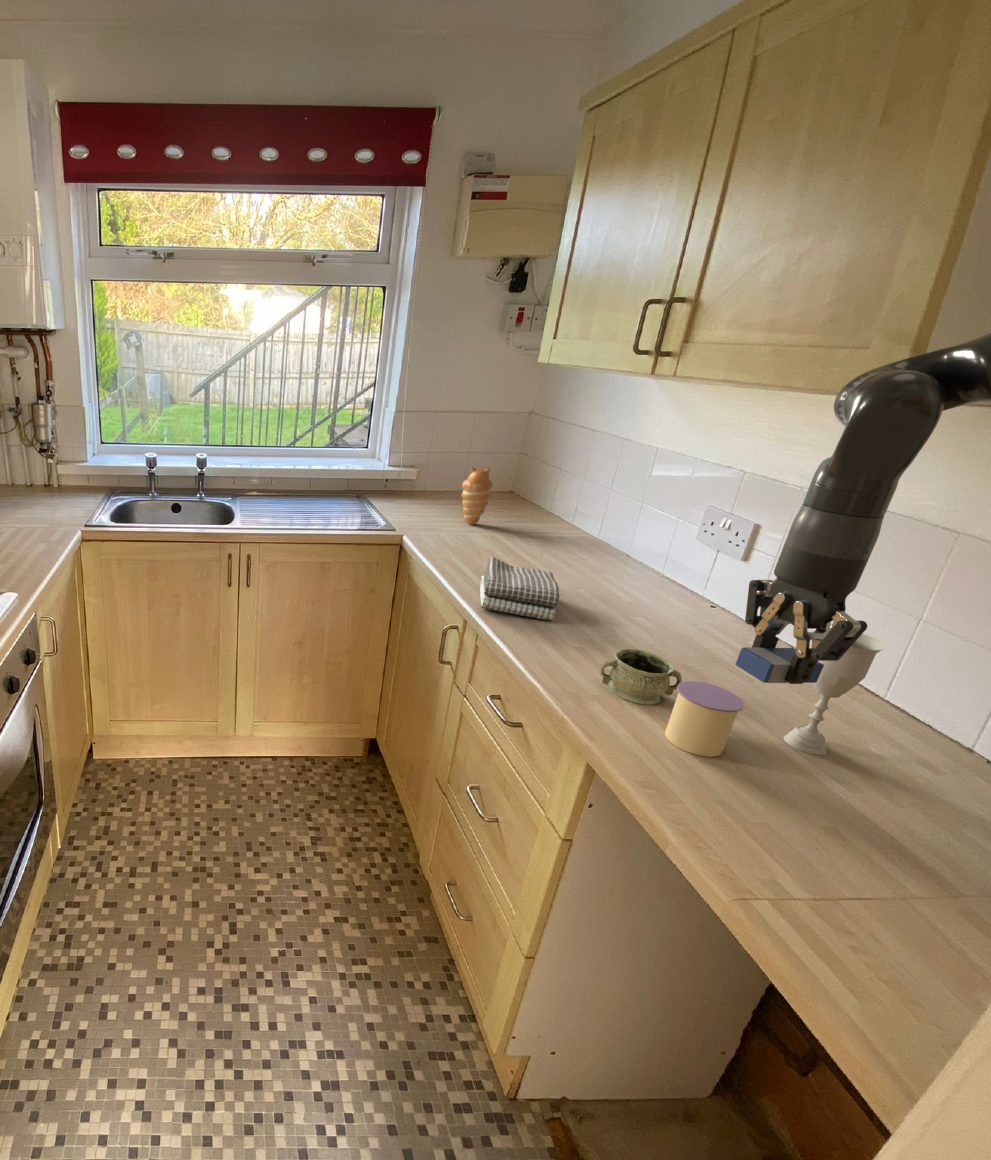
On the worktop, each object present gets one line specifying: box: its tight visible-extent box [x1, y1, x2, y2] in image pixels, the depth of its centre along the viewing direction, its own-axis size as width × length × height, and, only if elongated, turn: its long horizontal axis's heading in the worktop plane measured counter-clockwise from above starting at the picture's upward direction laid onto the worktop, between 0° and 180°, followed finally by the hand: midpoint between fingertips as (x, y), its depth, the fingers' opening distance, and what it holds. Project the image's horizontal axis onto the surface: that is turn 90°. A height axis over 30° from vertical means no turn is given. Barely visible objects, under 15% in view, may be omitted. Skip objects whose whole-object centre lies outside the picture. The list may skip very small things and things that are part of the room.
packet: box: [734, 646, 824, 684], centre depth 81 cm, size 7×5×3 cm, turn 92°
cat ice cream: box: [461, 466, 493, 525], centre depth 199 cm, size 9×8×18 cm
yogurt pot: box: [664, 680, 745, 758], centre depth 95 cm, size 8×8×8 cm
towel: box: [479, 556, 560, 621], centre depth 143 cm, size 15×18×8 cm
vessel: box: [599, 648, 683, 706], centre depth 108 cm, size 12×9×6 cm
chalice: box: [782, 633, 886, 756], centre depth 93 cm, size 7×7×18 cm
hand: (775, 671), depth 81 cm, fingers closed on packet, 4 cm apart
